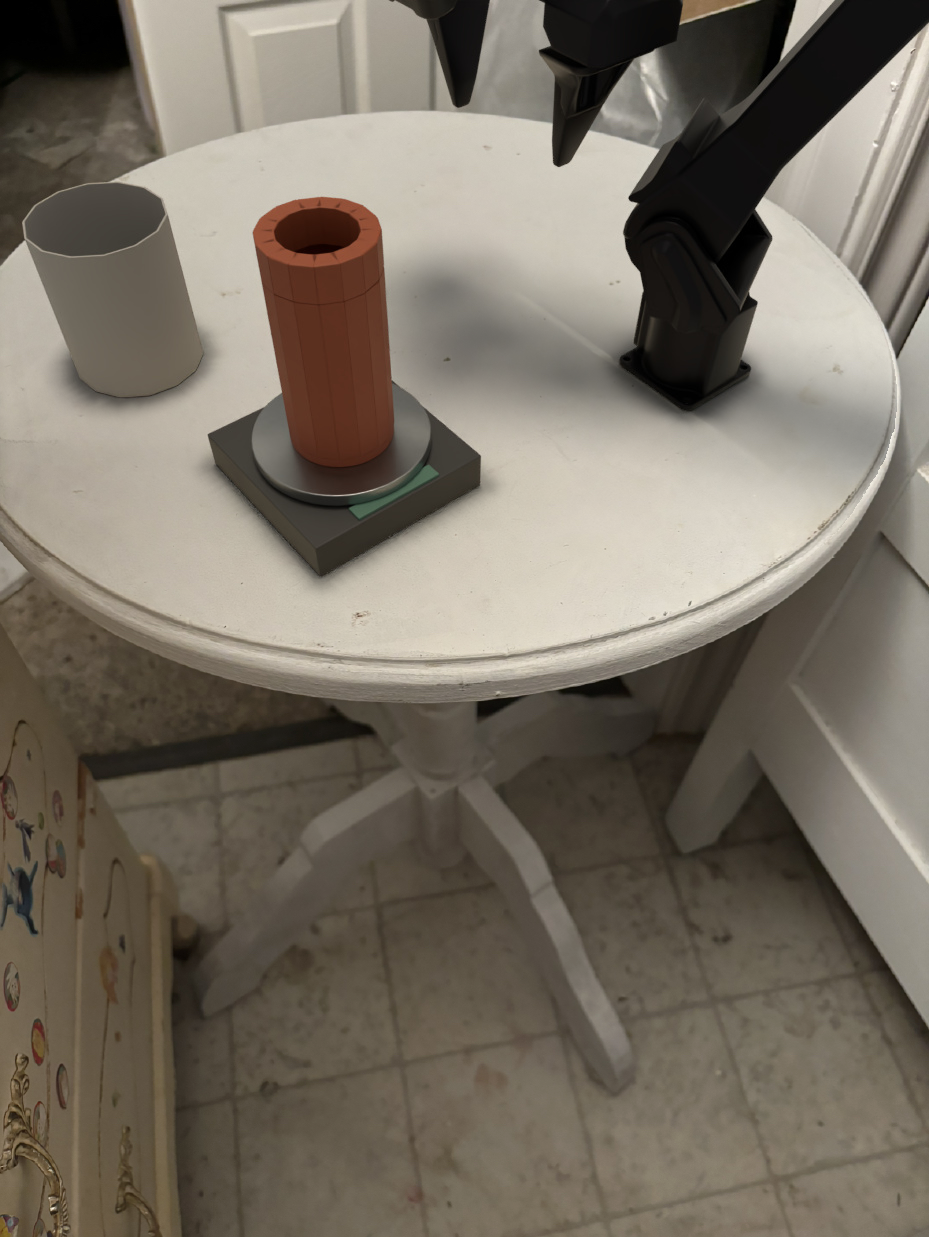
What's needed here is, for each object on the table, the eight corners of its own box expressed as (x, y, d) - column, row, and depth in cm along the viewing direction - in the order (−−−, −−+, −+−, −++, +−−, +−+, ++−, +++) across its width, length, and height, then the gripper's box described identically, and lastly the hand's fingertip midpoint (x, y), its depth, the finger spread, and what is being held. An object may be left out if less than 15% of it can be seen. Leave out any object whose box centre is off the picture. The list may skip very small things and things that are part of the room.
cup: (52, 380, 62) (-8, 241, 54) (118, 310, 66) (72, 172, 58) (165, 408, 60) (120, 269, 52) (224, 334, 65) (192, 196, 57)
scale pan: (467, 451, 54) (467, 441, 54) (318, 534, 50) (316, 524, 49) (363, 363, 59) (362, 352, 58) (220, 432, 55) (217, 422, 54)
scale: (480, 485, 56) (481, 452, 54) (320, 577, 52) (314, 546, 50) (368, 387, 62) (365, 354, 59) (215, 463, 57) (205, 431, 55)
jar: (358, 384, 56) (338, 184, 46) (414, 439, 54) (405, 238, 44) (271, 423, 54) (230, 221, 44) (324, 482, 51) (293, 281, 41)
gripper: (271, -223, 44) (310, 114, 57) (529, -123, 36) (509, 248, 48) (452, -254, 49) (452, 66, 61) (722, -172, 40) (658, 181, 53)
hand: (509, 134), depth 56 cm, fingers open, 9 cm apart
